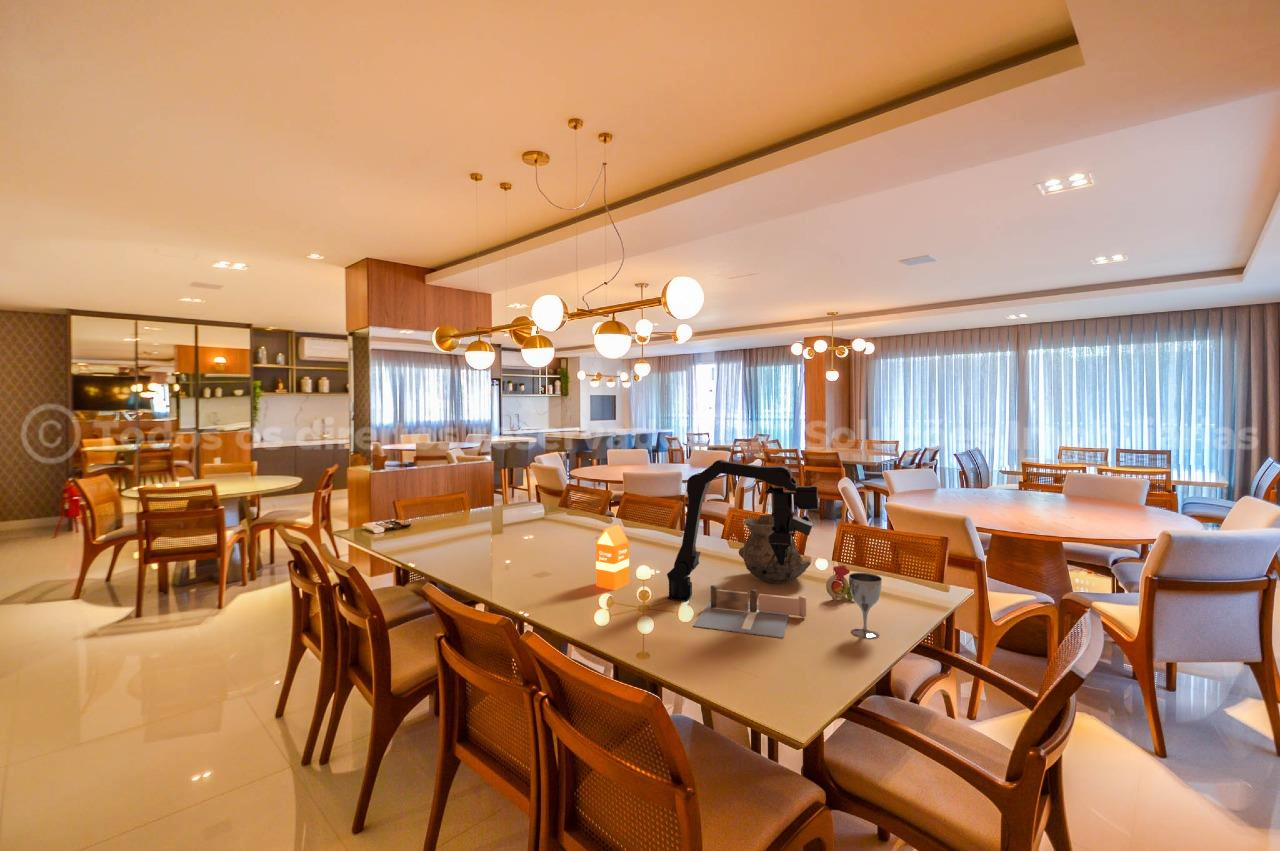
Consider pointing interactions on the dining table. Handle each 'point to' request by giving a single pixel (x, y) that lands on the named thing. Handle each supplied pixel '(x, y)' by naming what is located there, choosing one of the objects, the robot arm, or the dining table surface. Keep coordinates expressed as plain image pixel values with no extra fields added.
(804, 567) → the clay pot
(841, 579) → the bird rattle
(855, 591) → the wine glass
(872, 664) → the dining table surface
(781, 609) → the swing panel
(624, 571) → the orange juice
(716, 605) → the fixed fence
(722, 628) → the card
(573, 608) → the dining table surface
